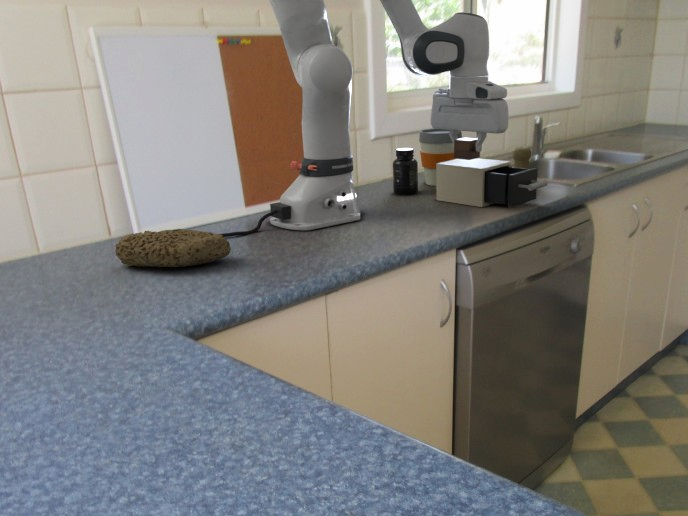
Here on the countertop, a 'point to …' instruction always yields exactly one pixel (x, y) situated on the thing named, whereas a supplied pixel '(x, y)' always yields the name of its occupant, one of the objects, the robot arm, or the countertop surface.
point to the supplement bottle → (405, 172)
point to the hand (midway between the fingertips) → (467, 150)
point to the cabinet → (464, 180)
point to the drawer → (511, 185)
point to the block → (465, 149)
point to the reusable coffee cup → (435, 151)
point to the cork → (521, 157)
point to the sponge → (171, 248)
